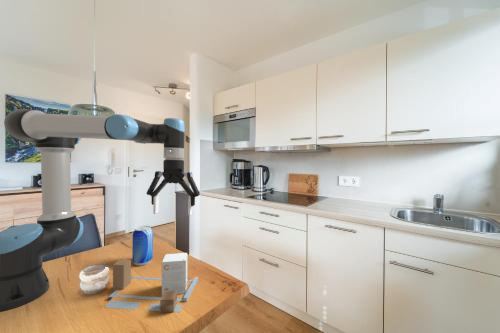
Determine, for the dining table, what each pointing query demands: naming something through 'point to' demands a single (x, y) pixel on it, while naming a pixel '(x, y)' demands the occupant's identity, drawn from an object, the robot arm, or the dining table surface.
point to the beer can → (142, 245)
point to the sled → (124, 278)
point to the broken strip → (135, 304)
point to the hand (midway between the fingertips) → (173, 213)
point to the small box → (174, 273)
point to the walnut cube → (168, 302)
